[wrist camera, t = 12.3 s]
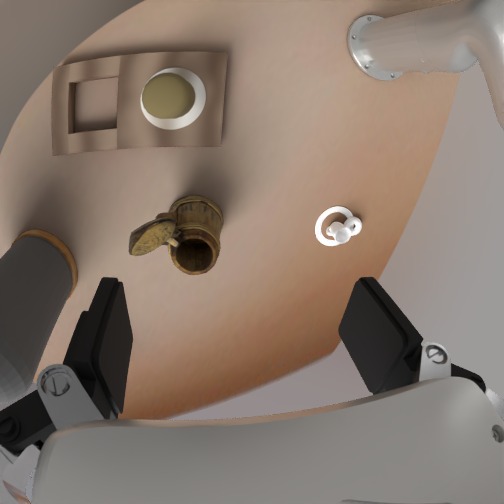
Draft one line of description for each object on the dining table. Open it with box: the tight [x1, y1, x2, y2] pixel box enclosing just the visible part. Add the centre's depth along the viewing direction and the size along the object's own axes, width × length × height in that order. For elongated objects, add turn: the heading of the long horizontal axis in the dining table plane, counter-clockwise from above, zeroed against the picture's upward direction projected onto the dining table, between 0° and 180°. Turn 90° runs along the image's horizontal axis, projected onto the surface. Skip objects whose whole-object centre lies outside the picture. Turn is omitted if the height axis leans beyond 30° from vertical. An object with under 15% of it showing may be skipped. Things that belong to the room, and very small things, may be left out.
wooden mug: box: [129, 196, 223, 275], centre depth 37 cm, size 9×14×18 cm, turn 41°
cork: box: [142, 72, 196, 119], centre depth 29 cm, size 6×6×11 cm
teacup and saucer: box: [315, 206, 362, 246], centre depth 50 cm, size 9×8×4 cm
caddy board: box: [52, 51, 228, 156], centre depth 34 cm, size 26×14×3 cm, turn 85°
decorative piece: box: [0, 229, 78, 404], centre depth 31 cm, size 16×16×30 cm
